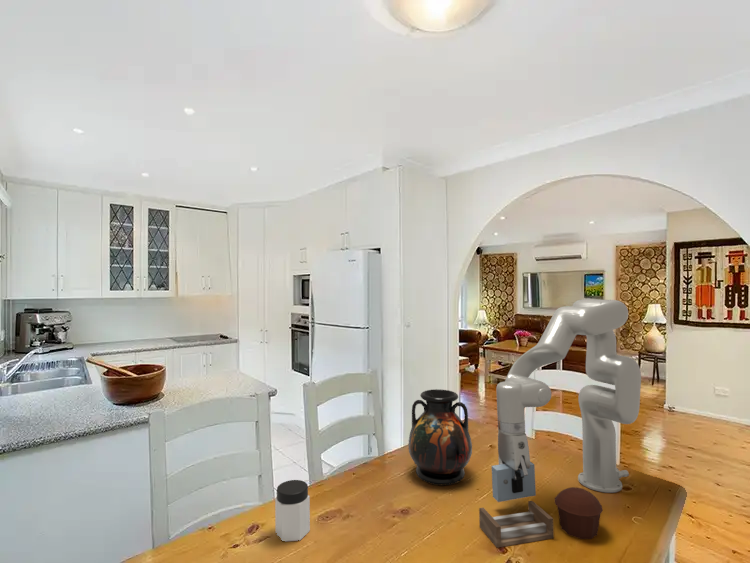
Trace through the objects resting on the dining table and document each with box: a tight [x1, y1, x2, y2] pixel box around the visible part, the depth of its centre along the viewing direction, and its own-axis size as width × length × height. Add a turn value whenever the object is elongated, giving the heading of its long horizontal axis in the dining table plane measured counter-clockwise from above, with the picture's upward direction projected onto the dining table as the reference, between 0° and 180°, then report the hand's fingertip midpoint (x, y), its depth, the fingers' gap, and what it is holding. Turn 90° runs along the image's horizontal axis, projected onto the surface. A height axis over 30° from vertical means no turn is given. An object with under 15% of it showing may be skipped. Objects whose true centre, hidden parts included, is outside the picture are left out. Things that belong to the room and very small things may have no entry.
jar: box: [274, 479, 311, 542], centre depth 108 cm, size 9×8×12 cm
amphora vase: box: [407, 388, 473, 486], centre depth 140 cm, size 22×22×28 cm
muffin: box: [554, 487, 604, 540], centre depth 108 cm, size 12×11×10 cm
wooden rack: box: [478, 500, 554, 548], centre depth 107 cm, size 16×9×5 cm, turn 103°
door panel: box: [491, 461, 537, 503], centre depth 118 cm, size 12×3×9 cm, turn 103°
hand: (513, 488), depth 118 cm, fingers closed on door panel, 3 cm apart
